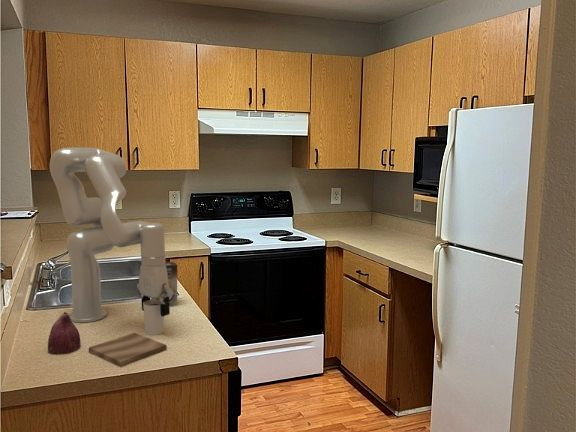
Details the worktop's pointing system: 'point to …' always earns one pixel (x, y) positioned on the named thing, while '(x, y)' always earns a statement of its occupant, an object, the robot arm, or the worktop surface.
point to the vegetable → (63, 336)
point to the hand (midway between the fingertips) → (155, 312)
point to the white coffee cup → (153, 317)
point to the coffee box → (171, 282)
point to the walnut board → (127, 349)
